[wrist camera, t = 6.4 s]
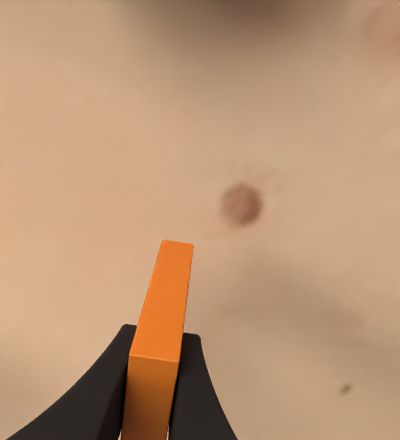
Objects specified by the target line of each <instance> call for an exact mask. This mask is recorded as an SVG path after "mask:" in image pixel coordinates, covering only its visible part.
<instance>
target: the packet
mask: <svg viewBox="0 0 400 440" xmlns="http://www.w3.org/2000/svg"><path fill="white" fill-rule="evenodd" d="M193 247H194V245H193V244H187V243H180V242H174V241H167V240H162V243H161V247H160V250H159V254H158V257H157V260H156V264H155V267H154V271H153V274H152V278H151V281H150V284H149V288H148V291H147V295H146V298H145V302H144V305H143V308H142V312H141V315H140V319H139V322H138V325H137V329H136V332H135V336H134V339H133V343H132V346H131V349H130V353H129V360H128V370H127V380H126V390H125V400H124V411H123V421H122V431H121V440H166V437H167V432H168V426H169V420H170V414H171V408H172V402H173V396H174V391H175V385H176V379H177V373H178V367H179V361H180V353H181V345H182V337H183V328H184V320H185V312H186V304H187V296H188V288H189V280H190V272H191V263H192V255H193Z"/></svg>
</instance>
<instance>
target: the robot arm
mask: <svg viewBox="0 0 400 440" xmlns="http://www.w3.org/2000/svg"><path fill="white" fill-rule="evenodd" d="M136 329H137V326H136V325H129V324H125V325H123V326H122V327H121V329H120V331H119V332H118V334H117V335H116V337H115V338H114V339H113V341H112V342H111V343H110V345H109V346H108V347H107V349H106V350H105V351H104V352H103V353H102V355H101V356H100V357H99V358H98V359H97V361H96V362H95V363H94V364H93V365H92V366H91V368H90V369H89V370H88V371H87V372H86V373H85V374H84V375H83V376H82V377H81V378H80V379H79V380H78V381H77V382H76V383H75V384H74V385H73V386H72V387H71V388H70V389H69V390H68V391H67V392H66V393H65V394H64V395H63V396H62V397H61V398H59V399H58V400H57V401H56V402H55V403H54V404H53V405H51V406H50V407H49V408H48V409H47V410H45V411H44V412H43V413H42V414H40V415H39V416H38V417H37V418H35V419H34V420H33V421H32V422H30V423H29V424H28V425H26V426H25V427H23V428H22V429H21V430H19V431H18V432H16V433H15V434H13V435H12V436H11V437H9V438H8V439H6V440H118V438H119V435H120V432H121V429H122V421H123V411H124V400H125V390H126V380H127V370H128V360H129V353H130V349H131V346H132V343H133V339H134V336H135V332H136ZM168 440H238V439H237V437H236V436H235V434H234V432H233V430H232V428H231V426H230V424H229V422H228V420H227V418H226V416H225V414H224V412H223V410H222V407H221V405H220V403H219V400H218V398H217V395H216V393H215V390H214V388H213V385H212V382H211V379H210V376H209V373H208V370H207V367H206V363H205V359H204V355H203V351H202V346H201V338H200V337H199V335H196V334H190V333H183V337H182V345H181V353H180V361H179V367H178V373H177V379H176V385H175V391H174V396H173V402H172V408H171V414H170V420H169V436H168Z"/></svg>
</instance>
